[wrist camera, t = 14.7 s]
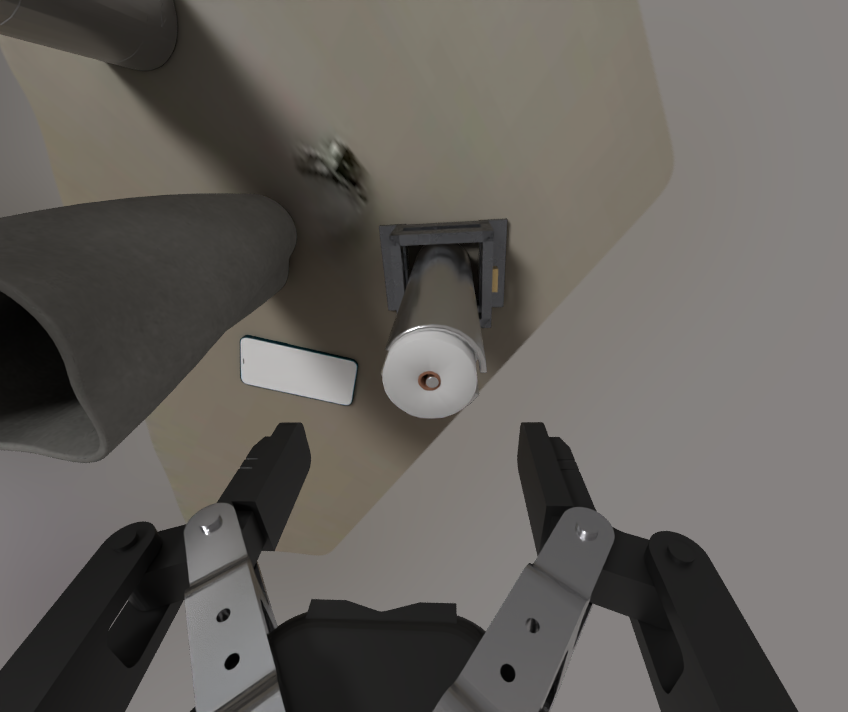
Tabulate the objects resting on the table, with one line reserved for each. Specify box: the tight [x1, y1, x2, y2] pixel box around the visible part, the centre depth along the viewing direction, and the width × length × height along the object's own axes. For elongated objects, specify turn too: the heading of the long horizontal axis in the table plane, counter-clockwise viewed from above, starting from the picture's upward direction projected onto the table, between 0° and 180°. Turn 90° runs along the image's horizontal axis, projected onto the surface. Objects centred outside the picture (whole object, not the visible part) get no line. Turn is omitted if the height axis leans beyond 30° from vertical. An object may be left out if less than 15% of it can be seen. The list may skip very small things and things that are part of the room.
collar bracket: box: [379, 219, 507, 328], centre depth 41 cm, size 14×10×6 cm
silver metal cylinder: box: [381, 243, 487, 418], centre depth 33 cm, size 6×6×25 cm
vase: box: [0, 194, 297, 463], centre depth 30 cm, size 12×12×30 cm
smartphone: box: [240, 335, 358, 406], centre depth 52 cm, size 8×1×16 cm
